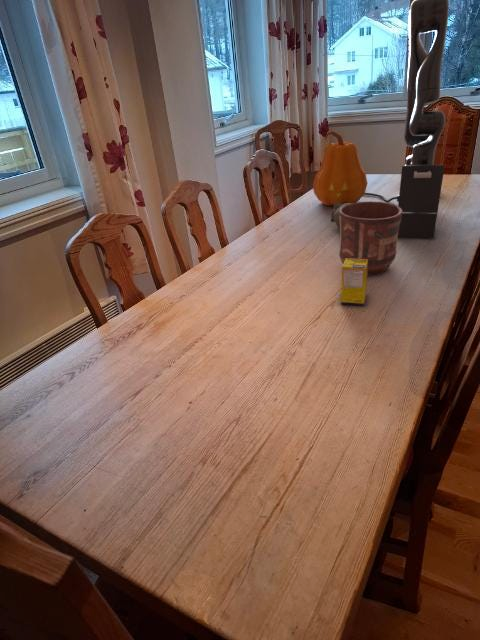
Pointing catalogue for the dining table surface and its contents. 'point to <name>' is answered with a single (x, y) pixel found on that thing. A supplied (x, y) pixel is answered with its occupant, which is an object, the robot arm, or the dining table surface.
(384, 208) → the pottery
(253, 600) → the dining table surface
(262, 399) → the dining table surface
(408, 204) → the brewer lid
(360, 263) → the supplement box
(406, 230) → the black cube
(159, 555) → the dining table surface
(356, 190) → the decorative pumpkin
